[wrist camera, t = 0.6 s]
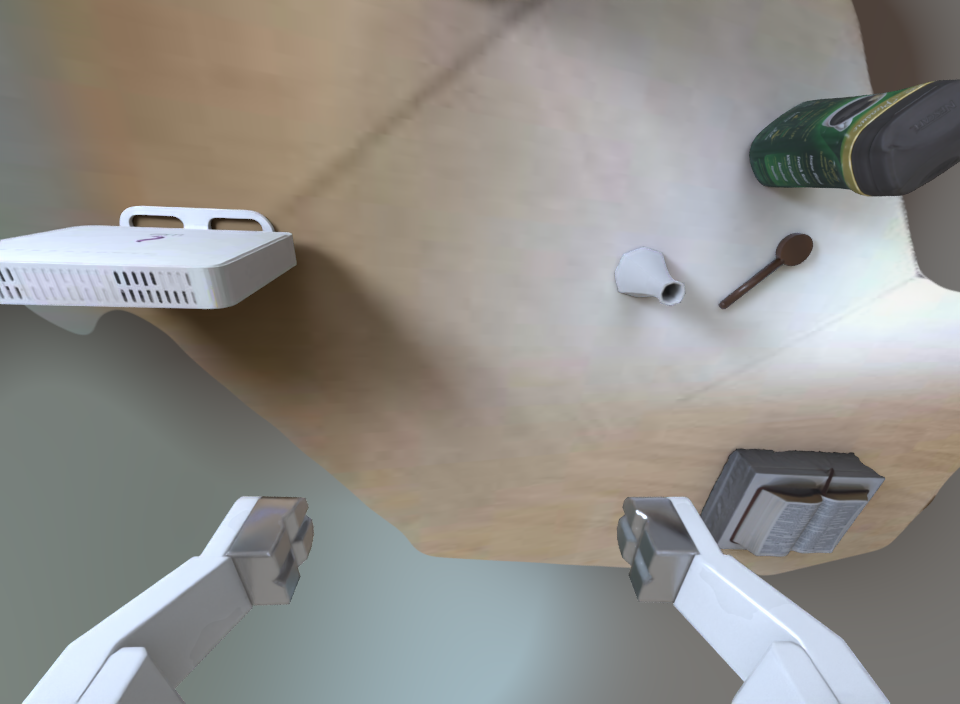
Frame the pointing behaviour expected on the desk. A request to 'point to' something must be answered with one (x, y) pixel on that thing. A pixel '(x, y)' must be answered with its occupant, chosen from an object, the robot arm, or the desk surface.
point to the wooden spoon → (776, 263)
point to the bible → (787, 500)
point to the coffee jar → (863, 141)
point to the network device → (145, 262)
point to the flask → (648, 277)
